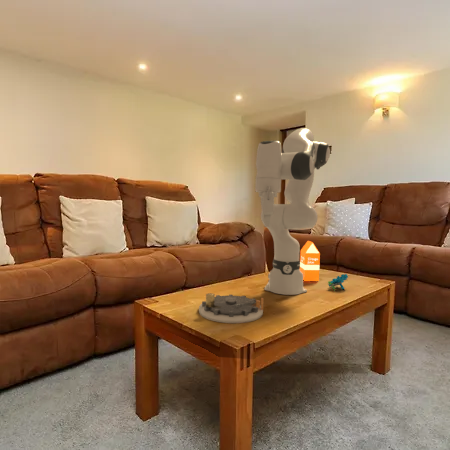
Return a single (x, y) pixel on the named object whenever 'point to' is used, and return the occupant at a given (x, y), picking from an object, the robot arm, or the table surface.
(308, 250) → the orange juice
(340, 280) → the teal green toy figure
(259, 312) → the sprocket base
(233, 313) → the sprocket
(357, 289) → the table surface
